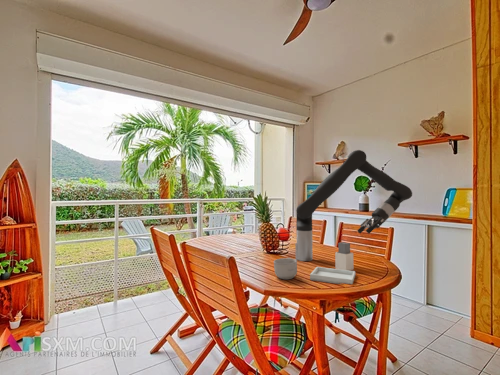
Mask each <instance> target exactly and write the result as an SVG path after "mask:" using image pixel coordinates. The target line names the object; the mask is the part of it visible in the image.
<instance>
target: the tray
mask: <svg viewBox="0 0 500 375" xmlns="http://www.w3.org/2000/svg"><path fill="white" fill-rule="evenodd" d="M355 278H356V271H355V270H340V269H336V268H330V267H321V266H316V267H315V268H314V269H313V270H312V271H311V273H310V274H309V279H310V281H315V282H323V283H328V284H329V283H331V284H336V285H344V286H345V284H347V285H353V283H354V280H355Z"/></svg>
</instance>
